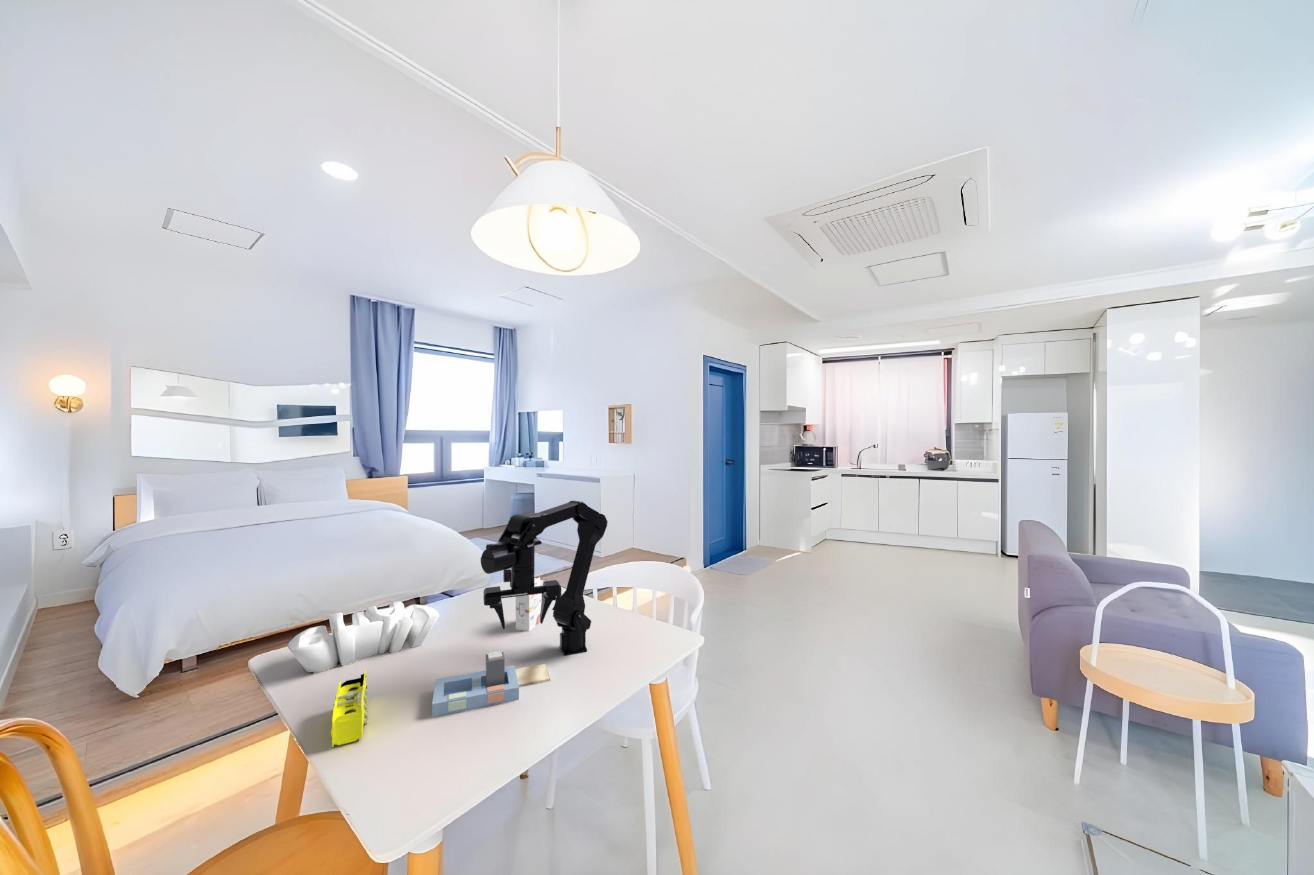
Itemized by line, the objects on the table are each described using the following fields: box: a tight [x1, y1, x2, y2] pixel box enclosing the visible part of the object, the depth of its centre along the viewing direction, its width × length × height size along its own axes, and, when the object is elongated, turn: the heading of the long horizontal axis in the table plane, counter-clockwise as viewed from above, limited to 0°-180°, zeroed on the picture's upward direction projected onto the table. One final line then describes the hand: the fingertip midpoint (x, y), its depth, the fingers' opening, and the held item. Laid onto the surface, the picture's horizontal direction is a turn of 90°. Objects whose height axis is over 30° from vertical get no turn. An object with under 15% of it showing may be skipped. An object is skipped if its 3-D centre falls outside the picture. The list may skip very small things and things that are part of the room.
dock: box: [431, 665, 520, 719], centre depth 107 cm, size 18×11×3 cm, turn 112°
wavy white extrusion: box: [287, 600, 440, 673], centre depth 129 cm, size 35×16×11 cm, turn 126°
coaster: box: [515, 663, 551, 688], centre depth 116 cm, size 8×8×1 cm
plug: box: [485, 650, 506, 688], centre depth 109 cm, size 4×4×9 cm
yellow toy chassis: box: [330, 669, 368, 748], centre depth 97 cm, size 16×6×8 cm, turn 30°
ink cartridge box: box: [515, 576, 542, 632], centre depth 148 cm, size 9×5×15 cm, turn 168°
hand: (522, 625), depth 117 cm, fingers open, 9 cm apart
